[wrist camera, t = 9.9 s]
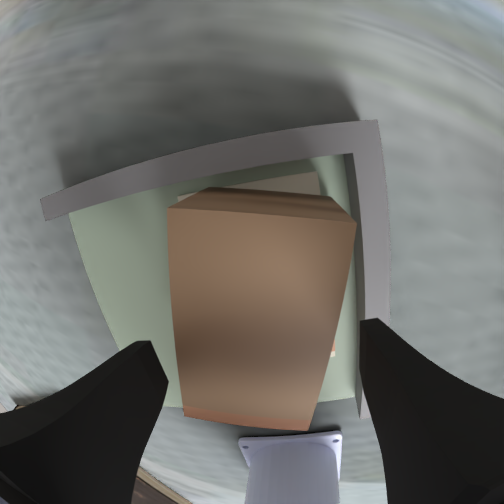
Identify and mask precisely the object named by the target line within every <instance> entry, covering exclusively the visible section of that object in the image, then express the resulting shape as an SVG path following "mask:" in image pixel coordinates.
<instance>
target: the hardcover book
mask: <svg viewBox="0 0 504 504" xmlns="http://www.w3.org/2000/svg"><path fill="white" fill-rule="evenodd" d="M22 407H25V406H18V405H17V406H16V407H15V408H14V410H15V409H19V408H22ZM131 504H192V503H191V502H189V501H188V500H186V499H184V498H183V497H181V496H180V495H178V494H177V493H175V492H174V491H172V490H171V489H169V488H168V487H166V486H165V485H163V484H162V483H161V482H159V481H158V480H156V479H155V478H154V477H152V476H151V475H150V474H148V473H147V472H146V471H144V470H143V469H142V468H141V467H139V468H138V472H137V476H136V480H135V485H134V490H133V495H132V501H131Z"/></svg>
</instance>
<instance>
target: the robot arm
mask: <svg viewBox="0 0 504 504" xmlns="http://www.w3.org/2000/svg"><path fill="white" fill-rule="evenodd" d="M359 371H360V376H361V381H362V386H363V392H364V395H365V399H366V402H367V405H368V408H369V411H370V415H371V418H372V421H373V424H374V428H375V431H376V434H377V438H378V441H379V445H380V449H381V453H382V458H383V465H384V472H385V480H386V489H387V500H388V504H504V399H503V398H500V397H497V396H494V395H492V394H490V393H487V392H485V391H483V390H481V389H478V388H476V387H474V386H472V385H470V384H468V383H466V382H464V381H462V380H461V379H459V378H457V377H455V376H454V375H452V374H450V373H448V372H447V371H445V370H444V369H442V368H440V367H439V366H437V365H436V364H435V363H433V362H432V361H430V360H429V359H427V358H426V357H425V356H423V355H422V354H421V353H419V352H418V351H417V350H416V349H414V348H413V347H412V346H411V345H409V344H408V343H407V342H406V341H404V340H403V339H402V338H401V337H400V336H399V335H397V334H396V333H395V332H394V331H393V330H392V329H390V328H389V327H388V326H387V325H386V324H385V323H384V322H382V321H381V320H380V319H379V318H372V319H366V320H361V321H360V345H359ZM168 384H169V380H168V378H167V376H166V374H165V372H164V370H163V367H162V365H161V363H160V361H159V359H158V356H157V354H156V352H155V349H154V347H153V345H152V342H151V340H142V341H135V342H134V343H132V344H130V345H128V346H127V347H125V348H124V349H122V350H121V351H119V352H118V353H117V354H115V355H114V356H112V357H111V358H109V359H108V360H107V361H105V362H104V363H102V364H101V365H100V366H98V367H97V368H95V369H94V370H92V371H91V372H89V373H88V374H86V375H85V376H83V377H82V378H80V379H79V380H77V381H76V382H74V383H72V384H71V385H69V386H67V387H66V388H64V389H62V390H60V391H58V392H57V393H55V394H53V395H51V396H49V397H47V398H44V399H42V400H40V401H37V402H35V403H32V404H30V405H27V406H25V407H22V408H19V409H15V410H12V411H8V412H5V413H0V504H131V501H132V495H133V490H134V485H135V480H136V476H137V472H138V468H139V465H140V461H141V458H142V455H143V452H144V449H145V447H146V445H147V442H148V440H149V437H150V435H151V433H152V430H153V428H154V426H155V423H156V421H157V419H158V416H159V414H160V411H161V409H162V406H163V404H164V400H165V396H166V392H167V388H168ZM238 444H239V447H240V449H241V451H242V453H243V456H244V458H245V460H246V462H247V464H248V467H249V476H248V483H247V490H246V497H245V504H340V497H339V482H338V480H339V477H340V465H341V452H342V432H341V431H330V432H322V433H313V434H303V435H291V436H276V437H243V438H240V439H239V440H238Z"/></svg>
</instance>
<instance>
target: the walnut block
mask: <svg viewBox="0 0 504 504" xmlns="http://www.w3.org/2000/svg"><path fill="white" fill-rule="evenodd" d="M356 227H357V223H356V222H355V221H354V220H353V219H352V218H351V217H350V215H349V214H348V213H347V212H346V211H345V210H344V209H343V208H342V207H341V206H340V205H339V204H338V203H337V202H336V201H335V200H334V199H333V198H332V197H331V196H322V195H313V194H302V193H292V192H280V191H268V190H254V189H239V188H222V187H208V188H205V189H203V190H201V191H199V192H197V193H195V194H193V195H191V196H189V197H187V198H185V199H183V200H181V201H179V202H177V203H176V204H174V205H172V206H170V207H168V208H167V235H168V262H169V280H170V296H171V309H172V321H173V331H174V341H175V351H176V359H177V368H178V376H179V383H180V390H181V397H182V404H183V410H184V416H186V417H191V418H196V419H202V420H207V421H213V422H220V423H226V424H233V425H241V426H250V427H259V428H270V429H283V430H303V431H308V429H309V426H310V423H311V420H312V417H313V414H314V410H315V407H316V404H317V401H318V397H319V394H320V391H321V387H322V384H323V380H324V377H325V373H326V370H327V366H328V362H329V359H330V355H331V351H332V347H333V343H334V339H335V335H336V331H337V326H338V322H339V318H340V313H341V309H342V304H343V299H344V295H345V290H346V285H347V280H348V274H349V269H350V263H351V258H352V252H353V246H354V240H355V233H356Z"/></svg>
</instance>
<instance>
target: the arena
mask: <svg viewBox="0 0 504 504" xmlns="http://www.w3.org/2000/svg"><path fill="white" fill-rule="evenodd" d="M208 187H222V188H239V189H254V190H268V191H280V192H292V193H302V194H313V195H322V196H331V197H332V198H333V199H334V200H335V201H336V202H337V203H338V204H339V205H340V206H341V207H342V208H343V209H344V210H345V211H346V212H347V213H348V214H349V215H350V217H351V218H352V219H353V220H354V221H355V222H356V223H357V227H356V233H355V240H354V246H353V252H352V258H351V263H350V269H349V274H348V280H347V285H346V290H345V295H344V299H343V304H342V309H341V313H340V318H339V322H338V326H337V331H336V335H335V339H334V343H333V347H332V351H331V355H330V359H329V362H328V366H327V370H326V373H325V377H324V380H323V384H322V387H321V391H320V394H319V397H318V401H317V402H324V401H332V400H339V399H345V398H351V397H355V398H356V402H357V407H358V412H359V417H360V419H365V418H370V417H371V415H370V411H369V408H368V405H367V402H366V399H365V395H364V392H363V386H362V381H361V376H360V371H359V345H360V321H361V320H366V319H372V318H379V319H380V320H381V321H382V322H384V323H385V324H386V325H387V326H388V327H389V320H390V294H391V250H390V225H389V209H388V196H387V185H386V175H385V167H384V159H383V151H382V144H381V138H380V131H379V125H378V120H364V121H352V122H341V123H331V124H322V125H314V126H307V127H299V128H292V129H286V130H279V131H273V132H267V133H262V134H256V135H251V136H246V137H240V138H236V139H231V140H226V141H221V142H217V143H212V144H208V145H204V146H200V147H195V148H191V149H187V150H183V151H180V152H176V153H172V154H168V155H165V156H161V157H158V158H154V159H151V160H147V161H144V162H141V163H137V164H134V165H131V166H128V167H125V168H122V169H118V170H115V171H112V172H110V173H107V174H104V175H101V176H98V177H95V178H92V179H90V180H87V181H84V182H82V183H79V184H76V185H74V186H71V187H68V188H66V189H63V190H61V191H58V192H56V193H54V194H51V195H49V196H46V197H44V198H42V199H40V201H41V205H42V209H43V213H44V217H45V221H47V220H50V219H53V218H56V217H59V216H62V215H65V214H68V215H69V218H70V222H71V225H72V229H73V232H74V236H75V239H76V242H77V245H78V249H79V252H80V255H81V258H82V261H83V264H84V266H85V269H86V272H87V275H88V278H89V280H90V283H91V286H92V288H93V291H94V294H95V296H96V299H97V301H98V304H99V306H100V308H101V311H102V313H103V316H104V318H105V320H106V323H107V325H108V327H109V329H110V332H111V334H112V336H113V338H114V340H115V342H116V344H117V347H118V349H119V351H121V350H122V349H124V348H125V347H127V346H128V345H130V344H132V343H134V342H135V341H142V340H151V342H152V345H153V347H154V349H155V352H156V354H157V356H158V359H159V361H160V363H161V365H162V367H163V370H164V372H165V374H166V376H167V378H168V380H169V384H168V388H167V392H166V396H165V400H164V404H163V406H168V407H183V404H182V397H181V390H180V383H179V376H178V368H177V359H176V351H175V341H174V331H173V321H172V309H171V296H170V280H169V262H168V235H167V208H168V207H170V206H172V205H174V204H176V203H177V202H179V201H181V200H183V199H185V198H187V197H189V196H191V195H193V194H195V193H197V192H199V191H201V190H203V189H205V188H208Z"/></svg>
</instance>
